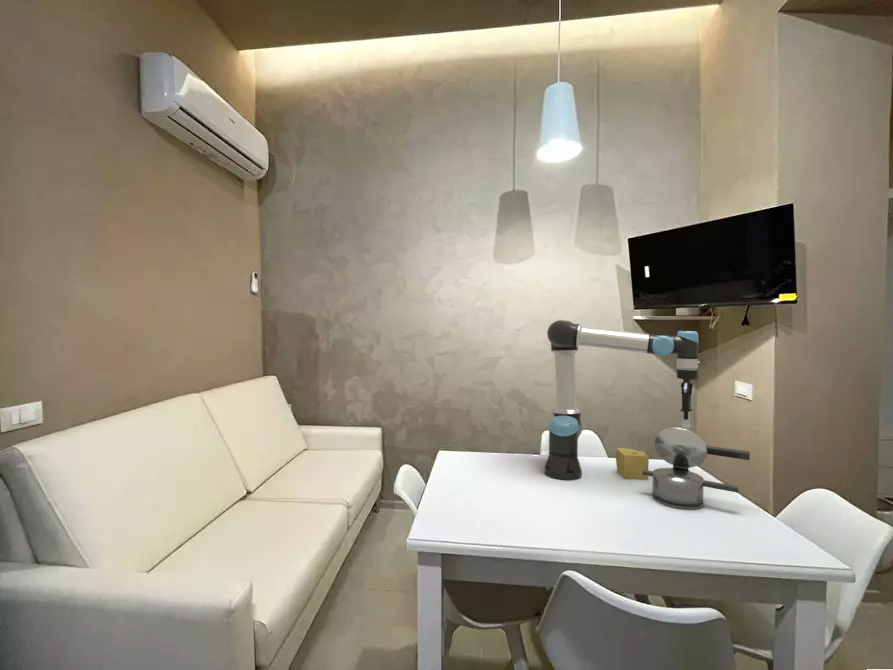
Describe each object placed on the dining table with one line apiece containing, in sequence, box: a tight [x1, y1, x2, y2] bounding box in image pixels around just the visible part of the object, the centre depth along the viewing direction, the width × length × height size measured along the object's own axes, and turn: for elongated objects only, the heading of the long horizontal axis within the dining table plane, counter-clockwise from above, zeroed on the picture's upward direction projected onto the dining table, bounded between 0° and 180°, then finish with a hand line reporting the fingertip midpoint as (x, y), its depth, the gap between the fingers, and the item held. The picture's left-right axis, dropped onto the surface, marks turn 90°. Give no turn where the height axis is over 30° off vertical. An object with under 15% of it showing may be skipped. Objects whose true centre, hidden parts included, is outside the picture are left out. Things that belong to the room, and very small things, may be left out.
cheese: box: [615, 447, 650, 480], centre depth 181 cm, size 10×11×10 cm
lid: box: [654, 426, 751, 470], centre depth 157 cm, size 30×18×2 cm
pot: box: [643, 467, 739, 511], centre depth 154 cm, size 29×18×9 cm, turn 56°
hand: (686, 427), depth 176 cm, fingers closed
